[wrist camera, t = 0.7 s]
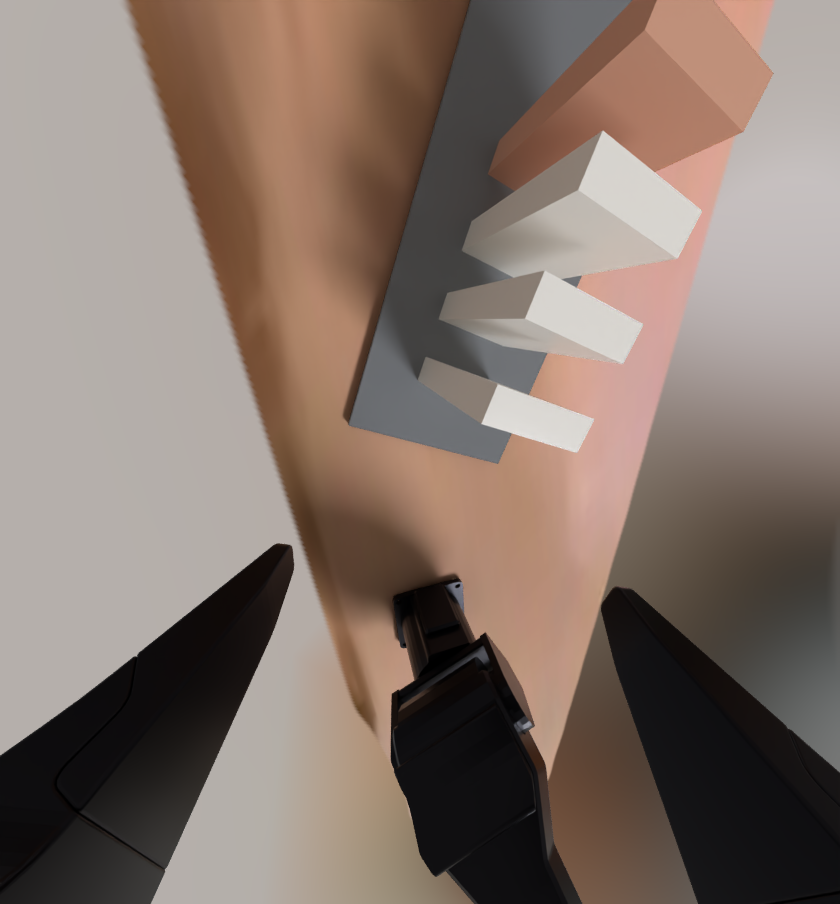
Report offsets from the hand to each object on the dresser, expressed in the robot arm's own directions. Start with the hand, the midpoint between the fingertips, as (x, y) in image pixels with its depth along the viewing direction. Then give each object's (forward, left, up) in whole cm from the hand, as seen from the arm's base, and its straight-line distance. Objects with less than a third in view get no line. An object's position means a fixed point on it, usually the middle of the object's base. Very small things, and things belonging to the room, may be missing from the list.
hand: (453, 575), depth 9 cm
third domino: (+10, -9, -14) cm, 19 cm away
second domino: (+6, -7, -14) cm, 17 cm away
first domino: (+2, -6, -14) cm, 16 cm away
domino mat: (+10, -9, -15) cm, 21 cm away
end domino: (+13, -11, -14) cm, 22 cm away
